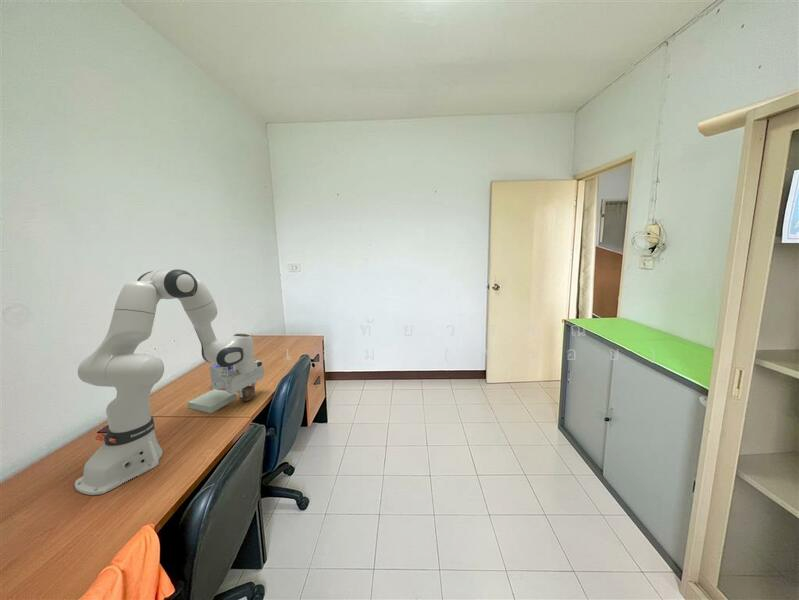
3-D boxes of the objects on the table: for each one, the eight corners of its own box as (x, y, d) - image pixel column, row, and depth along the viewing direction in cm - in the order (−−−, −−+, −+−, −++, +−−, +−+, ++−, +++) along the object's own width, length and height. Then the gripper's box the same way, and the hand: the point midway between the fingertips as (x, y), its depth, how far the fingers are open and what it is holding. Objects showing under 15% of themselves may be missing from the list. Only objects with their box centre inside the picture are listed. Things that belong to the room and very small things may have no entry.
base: (211, 413, 140) (210, 407, 140) (188, 408, 145) (187, 402, 144) (236, 398, 154) (236, 393, 153) (214, 394, 158) (214, 388, 157)
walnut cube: (247, 400, 149) (246, 391, 148) (239, 399, 150) (238, 389, 150) (255, 396, 153) (254, 386, 153) (247, 394, 155) (246, 385, 154)
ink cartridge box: (235, 384, 169) (233, 359, 166) (230, 389, 164) (227, 363, 161) (217, 384, 169) (214, 359, 167) (211, 389, 164) (208, 363, 161)
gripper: (231, 375, 139) (234, 405, 141) (265, 360, 158) (267, 386, 160) (221, 374, 141) (223, 402, 143) (255, 359, 160) (257, 384, 162)
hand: (247, 394), depth 152 cm, fingers closed on walnut cube, 5 cm apart
